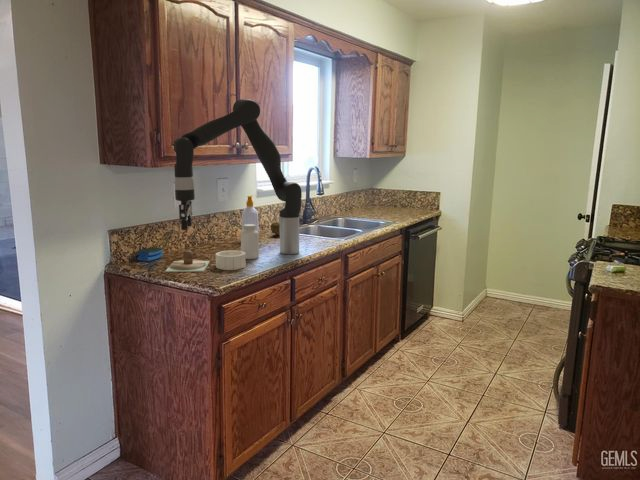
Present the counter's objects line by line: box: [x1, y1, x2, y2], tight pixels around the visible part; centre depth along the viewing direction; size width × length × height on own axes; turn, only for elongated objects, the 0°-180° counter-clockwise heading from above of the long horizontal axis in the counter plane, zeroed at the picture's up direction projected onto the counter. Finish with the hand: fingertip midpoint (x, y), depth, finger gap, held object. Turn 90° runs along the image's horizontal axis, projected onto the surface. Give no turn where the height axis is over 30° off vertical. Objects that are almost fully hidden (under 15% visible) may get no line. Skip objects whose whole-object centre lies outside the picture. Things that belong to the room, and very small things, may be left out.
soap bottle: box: [241, 194, 259, 233], centre depth 257 cm, size 9×9×24 cm
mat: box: [164, 260, 210, 273], centre depth 202 cm, size 17×15×1 cm
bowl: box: [215, 250, 247, 271], centre depth 203 cm, size 12×12×6 cm
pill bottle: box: [240, 224, 260, 260], centre depth 218 cm, size 8×8×15 cm
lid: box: [170, 250, 206, 270], centre depth 201 cm, size 14×14×6 cm
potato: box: [270, 222, 280, 237], centre depth 274 cm, size 8×13×8 cm, turn 147°
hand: (186, 227), depth 199 cm, fingers open, 8 cm apart
